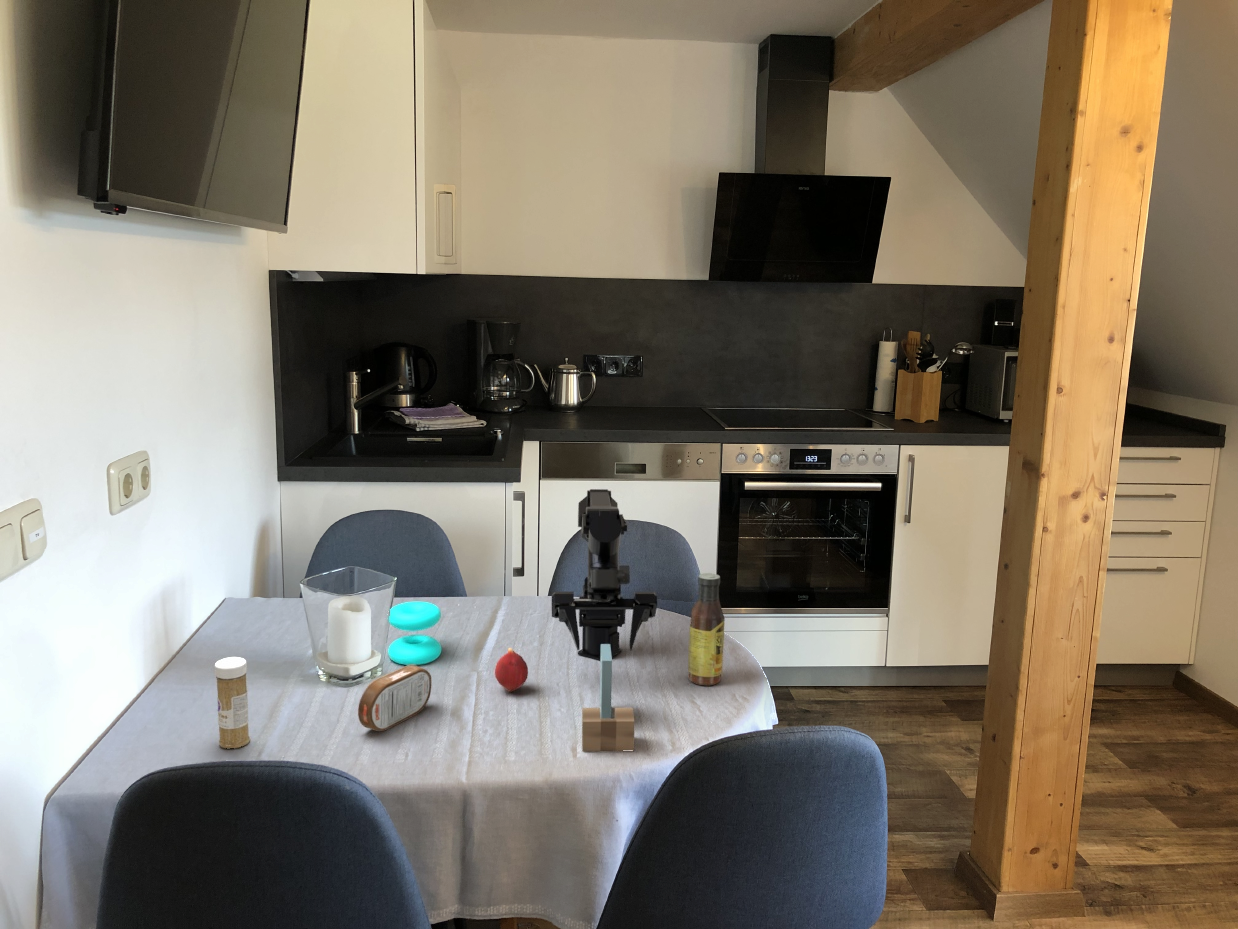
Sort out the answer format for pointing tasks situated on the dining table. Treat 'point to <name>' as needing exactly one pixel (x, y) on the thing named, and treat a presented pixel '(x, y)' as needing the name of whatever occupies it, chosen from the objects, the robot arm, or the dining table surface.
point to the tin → (394, 698)
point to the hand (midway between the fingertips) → (604, 649)
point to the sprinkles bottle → (232, 702)
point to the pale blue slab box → (605, 681)
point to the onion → (511, 671)
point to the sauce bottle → (706, 633)
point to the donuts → (414, 646)
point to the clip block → (607, 730)
